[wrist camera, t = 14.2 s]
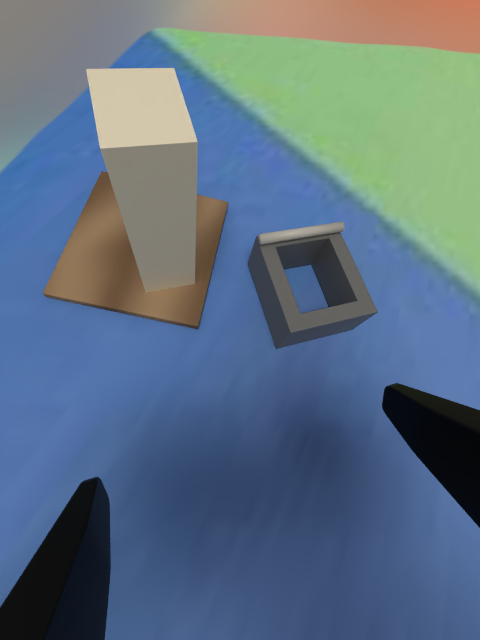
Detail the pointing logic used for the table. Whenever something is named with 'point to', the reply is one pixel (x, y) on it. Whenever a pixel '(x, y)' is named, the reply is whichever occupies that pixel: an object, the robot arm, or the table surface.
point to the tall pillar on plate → (150, 168)
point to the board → (131, 263)
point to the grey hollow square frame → (332, 273)
